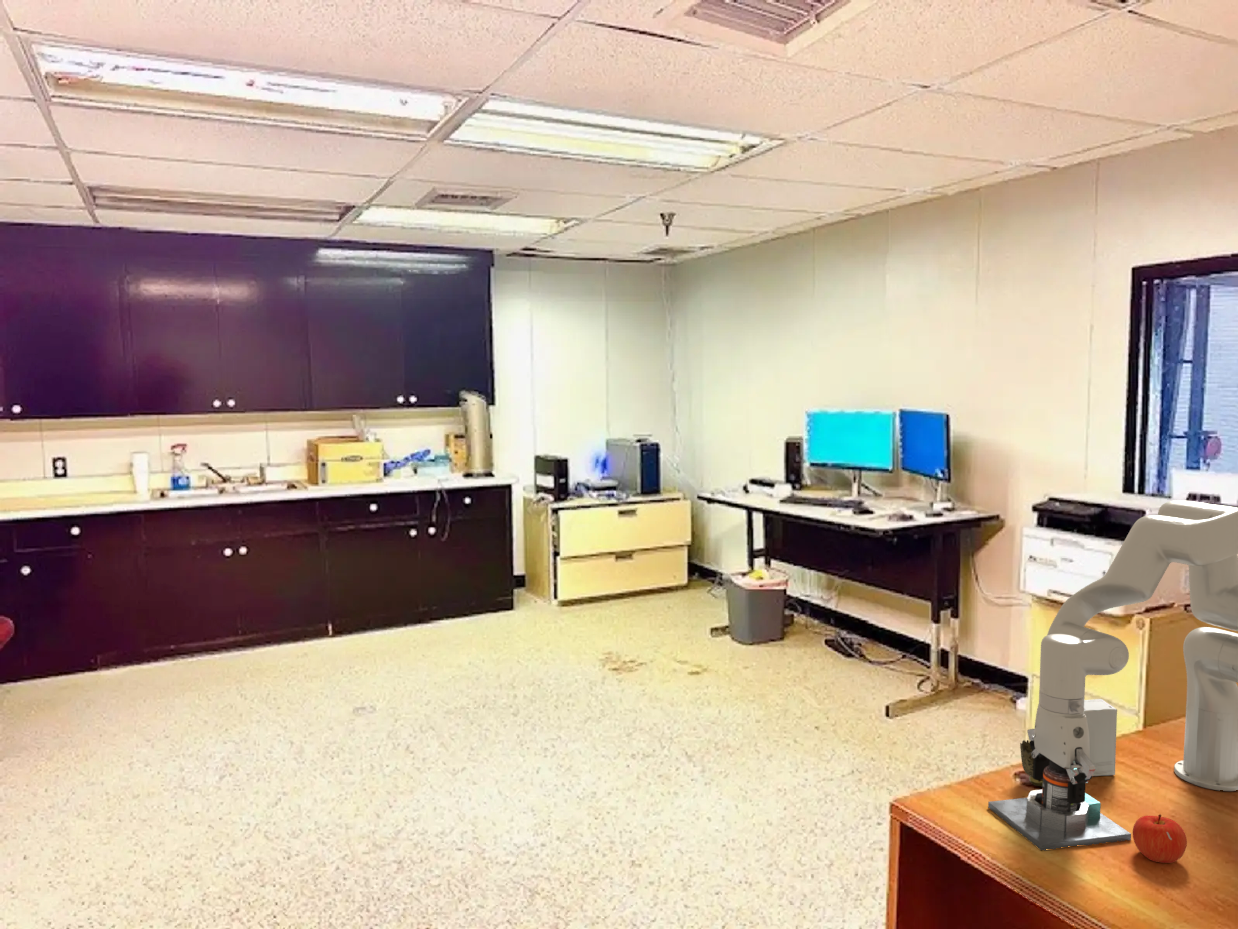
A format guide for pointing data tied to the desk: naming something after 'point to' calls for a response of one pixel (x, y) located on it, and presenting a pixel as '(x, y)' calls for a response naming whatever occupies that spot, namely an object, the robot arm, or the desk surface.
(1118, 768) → the desk surface
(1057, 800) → the supplement bottle
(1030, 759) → the cup
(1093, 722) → the skincare box
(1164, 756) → the desk surface
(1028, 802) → the hub plate
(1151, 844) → the apple
